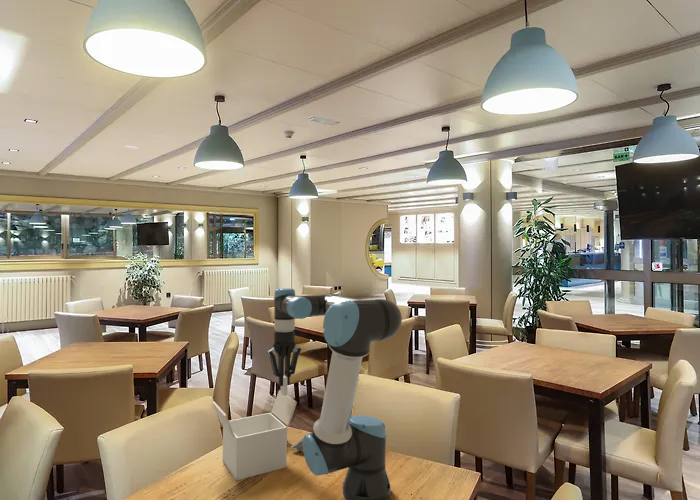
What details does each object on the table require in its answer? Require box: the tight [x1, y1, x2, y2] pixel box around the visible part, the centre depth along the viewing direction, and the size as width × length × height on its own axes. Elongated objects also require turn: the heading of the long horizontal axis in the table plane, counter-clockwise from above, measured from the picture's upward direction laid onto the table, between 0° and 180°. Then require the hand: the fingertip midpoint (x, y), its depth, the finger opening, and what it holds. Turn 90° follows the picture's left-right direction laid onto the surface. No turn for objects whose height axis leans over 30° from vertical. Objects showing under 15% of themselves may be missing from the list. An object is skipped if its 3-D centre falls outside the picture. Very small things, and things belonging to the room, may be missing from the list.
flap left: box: [212, 400, 235, 438], centre depth 149 cm, size 15×8×1 cm
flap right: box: [270, 389, 298, 427], centre depth 161 cm, size 15×8×1 cm
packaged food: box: [291, 437, 304, 453], centre depth 166 cm, size 9×12×5 cm
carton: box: [222, 412, 288, 481], centre depth 155 cm, size 16×18×14 cm
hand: (284, 394), depth 161 cm, fingers closed
